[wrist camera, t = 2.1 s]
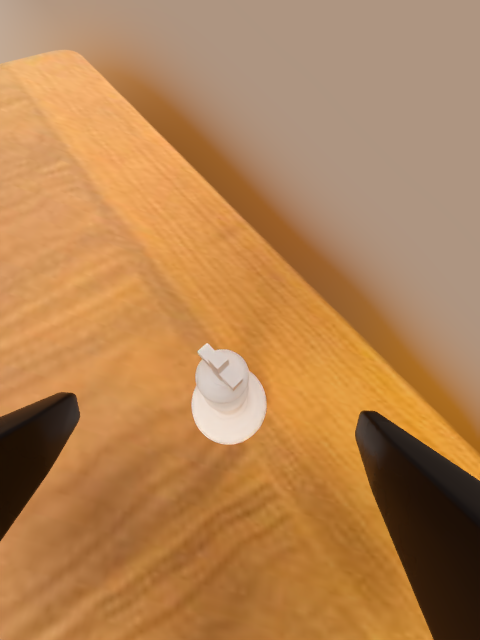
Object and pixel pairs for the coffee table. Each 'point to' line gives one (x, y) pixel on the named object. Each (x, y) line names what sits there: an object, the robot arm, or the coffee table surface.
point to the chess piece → (227, 397)
